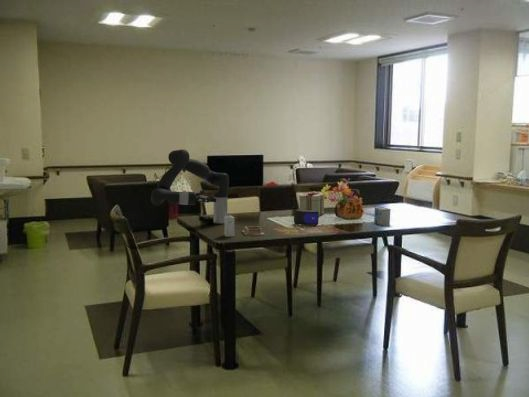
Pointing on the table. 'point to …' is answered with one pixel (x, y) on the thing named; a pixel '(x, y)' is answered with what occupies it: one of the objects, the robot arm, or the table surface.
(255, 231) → the chassis board
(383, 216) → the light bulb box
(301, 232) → the table surface
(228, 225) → the servo block
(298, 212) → the black and blue box
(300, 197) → the gift box
